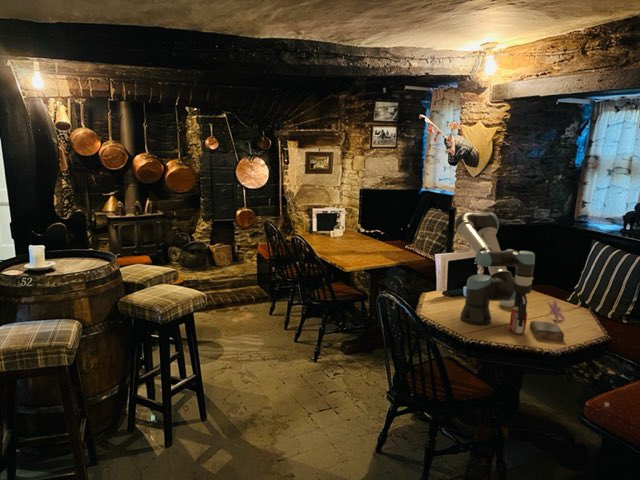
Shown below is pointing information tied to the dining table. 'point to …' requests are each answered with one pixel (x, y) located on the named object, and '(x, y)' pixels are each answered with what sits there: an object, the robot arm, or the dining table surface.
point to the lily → (555, 311)
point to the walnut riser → (546, 331)
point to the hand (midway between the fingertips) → (517, 328)
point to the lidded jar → (507, 303)
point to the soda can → (514, 321)
